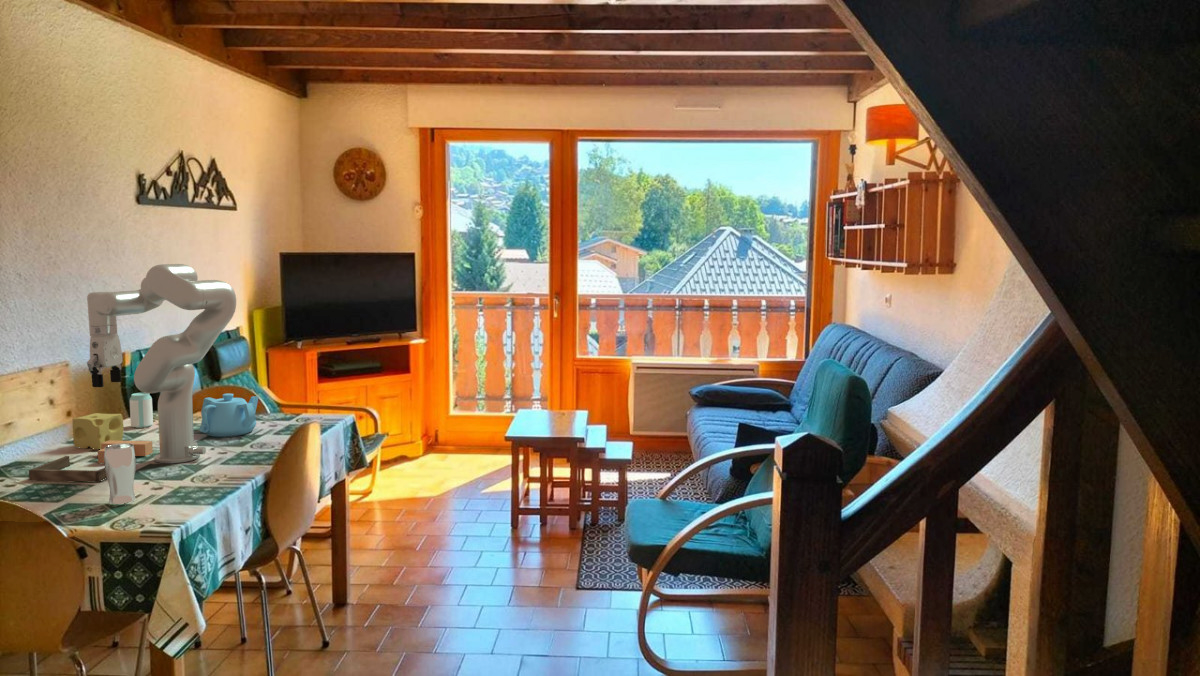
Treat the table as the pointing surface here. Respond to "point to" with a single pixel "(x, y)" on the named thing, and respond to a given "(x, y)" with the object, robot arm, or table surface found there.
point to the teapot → (228, 416)
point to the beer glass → (120, 472)
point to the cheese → (97, 429)
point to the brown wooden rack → (64, 472)
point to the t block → (139, 446)
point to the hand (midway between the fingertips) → (107, 384)
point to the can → (141, 410)
